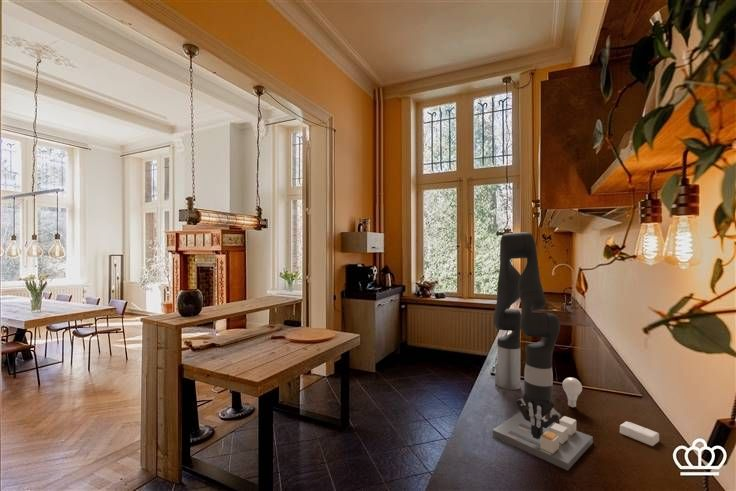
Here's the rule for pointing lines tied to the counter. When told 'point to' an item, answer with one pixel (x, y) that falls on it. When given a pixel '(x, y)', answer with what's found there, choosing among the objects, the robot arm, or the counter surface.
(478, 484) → the counter surface
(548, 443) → the block
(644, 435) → the soap
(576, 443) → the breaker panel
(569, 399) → the lightbulb
